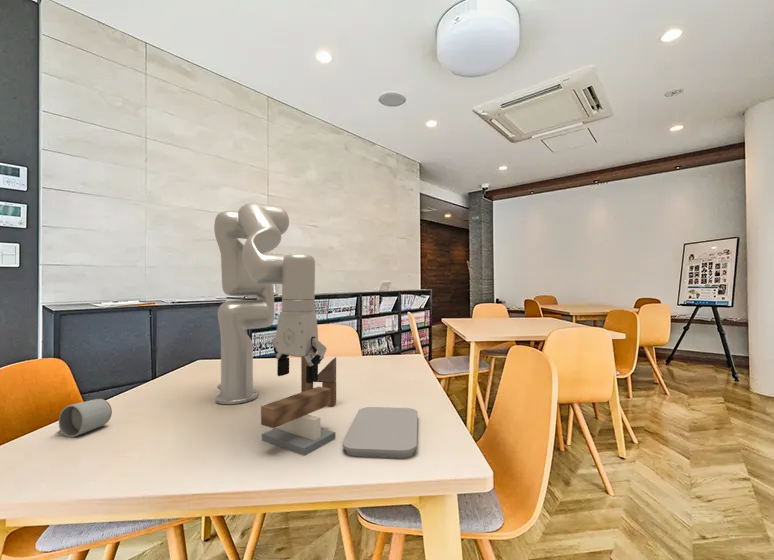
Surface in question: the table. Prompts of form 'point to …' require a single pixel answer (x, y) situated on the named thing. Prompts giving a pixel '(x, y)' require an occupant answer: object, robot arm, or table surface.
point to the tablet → (382, 432)
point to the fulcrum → (300, 435)
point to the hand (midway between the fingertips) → (297, 378)
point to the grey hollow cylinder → (84, 417)
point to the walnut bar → (294, 406)
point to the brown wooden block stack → (321, 378)
